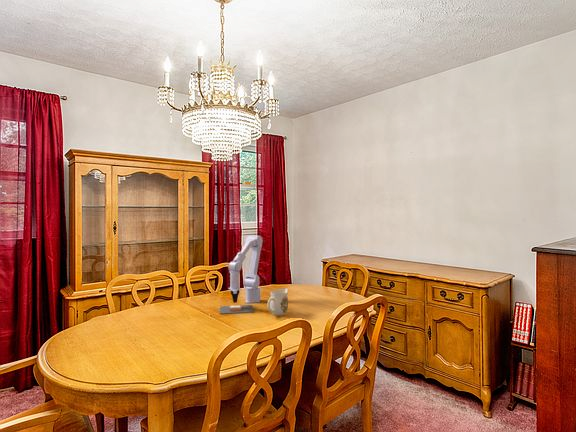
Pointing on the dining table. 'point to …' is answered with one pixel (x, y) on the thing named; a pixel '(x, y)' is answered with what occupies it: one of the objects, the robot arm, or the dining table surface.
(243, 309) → the mat
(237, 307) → the tile
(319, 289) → the dining table surface
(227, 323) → the dining table surface
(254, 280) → the robot arm
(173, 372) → the dining table surface
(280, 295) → the pitcher
